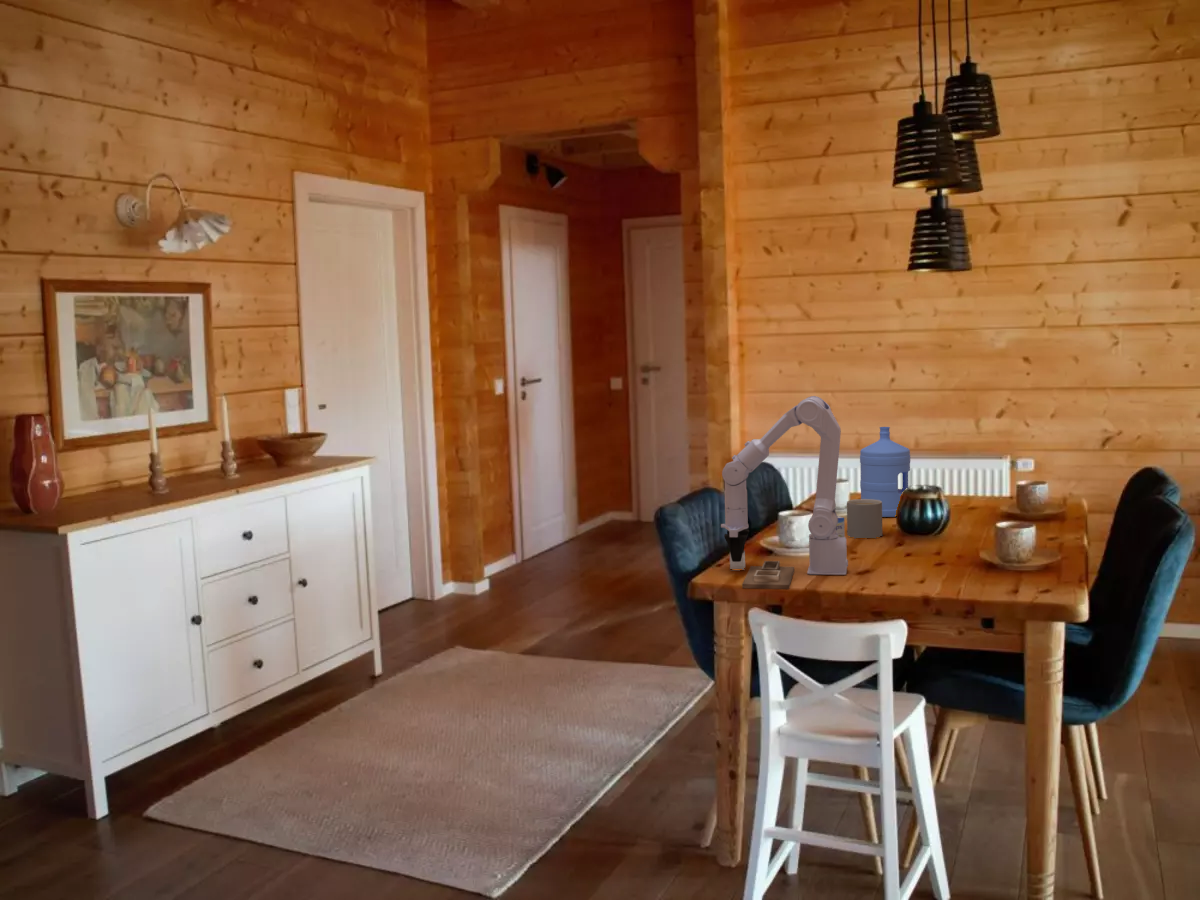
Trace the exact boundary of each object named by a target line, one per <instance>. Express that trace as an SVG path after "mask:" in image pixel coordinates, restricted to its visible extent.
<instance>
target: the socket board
mask: <svg viewBox="0 0 1200 900" xmlns="http://www.w3.org/2000/svg"><path fill="white" fill-rule="evenodd" d="M794 573H795V566H781V561H780V560H764V562H763V564H762V566H761V565H758V566H757V565H750V567H749V569H748V571H747V573H746V575H745V578H744V579H743V582H742V584H741V585H742V589H763V590H764V589H766V590H767V589H768V590H769V589H770V590H771V589H772V590H777V589H778V590H789V589H790V586H791V583H792V580H793V577H792V576H794Z"/></svg>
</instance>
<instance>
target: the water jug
mask: <svg viewBox="0 0 1200 900" xmlns="http://www.w3.org/2000/svg"><path fill="white" fill-rule="evenodd" d="M890 429H891V427H890V426H879V439H878V440H876V441H875V442H873V443H871V444H868V445H867V446H865V447H862V448H861V449H860V453H859V454H860V455H859V463H860V480H859V481H860V482H859V483H860V485H859V487H860V499H873V500H880V501H882V517H895V515H896V510H897V507H898V504H899V501H900V496H901V494H902V492H903V491H904V490H905V489H906V488H908V489H909V471H910V470H911V450H910V448H909V447H905V446H904V445H903V444H902V445H901V444H899V443H898V442H895V441H893V440H892V439H891V431H890ZM900 474H902V487H901V488H899V475H900Z"/></svg>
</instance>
